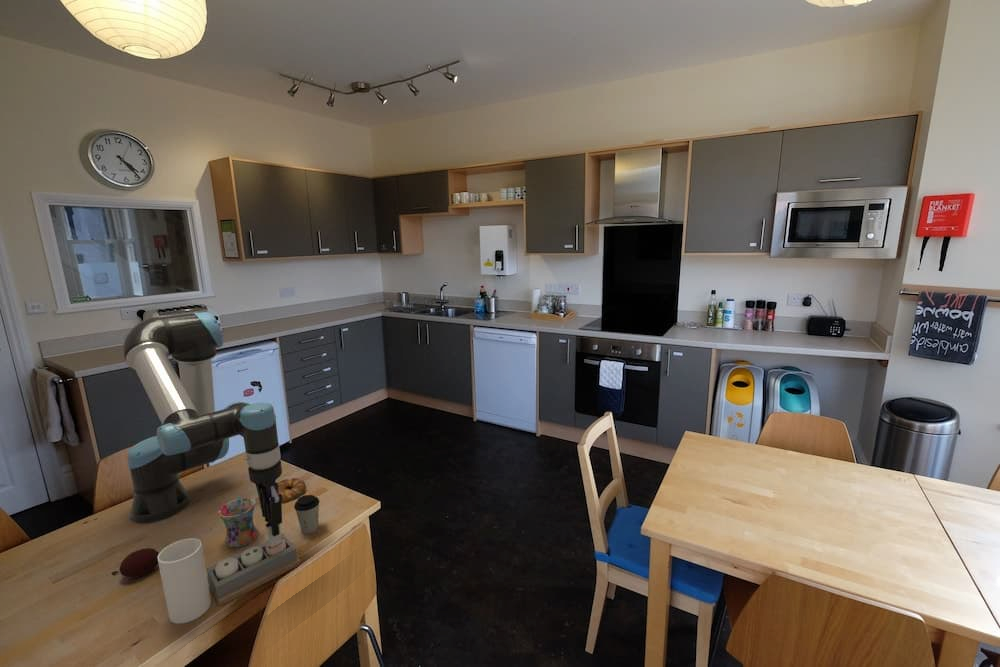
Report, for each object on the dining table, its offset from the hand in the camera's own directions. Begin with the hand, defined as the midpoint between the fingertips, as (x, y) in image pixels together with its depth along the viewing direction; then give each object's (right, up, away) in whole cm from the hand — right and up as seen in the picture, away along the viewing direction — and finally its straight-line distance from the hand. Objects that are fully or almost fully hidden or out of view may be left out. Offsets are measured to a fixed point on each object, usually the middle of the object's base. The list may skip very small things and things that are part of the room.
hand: (275, 543), depth 119 cm
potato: (-34, -7, -2) cm, 35 cm away
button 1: (-8, -4, -7) cm, 12 cm away
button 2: (-4, -4, -3) cm, 6 cm away
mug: (-15, -4, +11) cm, 19 cm away
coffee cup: (+3, -3, +14) cm, 15 cm away
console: (-4, -6, -3) cm, 8 cm away
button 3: (0, -3, +1) cm, 4 cm away
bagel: (-12, +1, +33) cm, 36 cm away
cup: (-13, -9, -14) cm, 21 cm away
